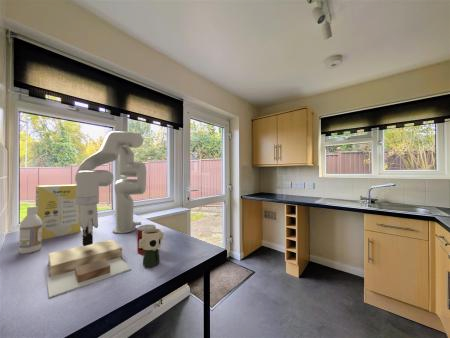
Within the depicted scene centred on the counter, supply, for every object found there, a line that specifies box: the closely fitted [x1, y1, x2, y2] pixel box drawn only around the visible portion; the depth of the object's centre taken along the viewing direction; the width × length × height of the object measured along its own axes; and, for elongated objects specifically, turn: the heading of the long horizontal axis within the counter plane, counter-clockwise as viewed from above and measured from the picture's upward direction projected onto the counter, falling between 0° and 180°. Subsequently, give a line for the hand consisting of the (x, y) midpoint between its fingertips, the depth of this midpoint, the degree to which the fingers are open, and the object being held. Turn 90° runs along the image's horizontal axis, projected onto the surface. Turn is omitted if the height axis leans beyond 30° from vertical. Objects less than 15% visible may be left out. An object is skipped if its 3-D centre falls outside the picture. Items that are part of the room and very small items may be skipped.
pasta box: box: [35, 184, 82, 240], centre depth 108 cm, size 18×10×28 cm, turn 142°
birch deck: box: [48, 238, 123, 277], centre depth 76 cm, size 22×14×4 cm, turn 136°
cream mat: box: [46, 257, 132, 299], centre depth 65 cm, size 22×13×1 cm, turn 136°
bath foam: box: [18, 205, 43, 255], centre depth 84 cm, size 7×7×20 cm
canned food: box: [136, 224, 157, 255], centre depth 85 cm, size 8×8×11 cm
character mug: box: [139, 228, 164, 268], centre depth 73 cm, size 11×7×13 cm, turn 149°
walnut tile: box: [75, 259, 110, 283], centre depth 65 cm, size 9×7×2 cm
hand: (87, 244), depth 77 cm, fingers closed
